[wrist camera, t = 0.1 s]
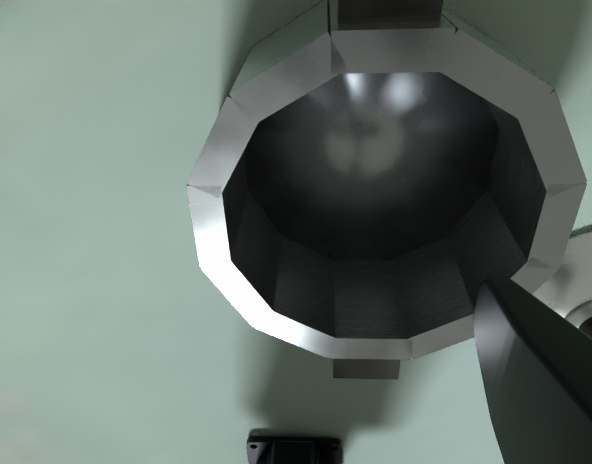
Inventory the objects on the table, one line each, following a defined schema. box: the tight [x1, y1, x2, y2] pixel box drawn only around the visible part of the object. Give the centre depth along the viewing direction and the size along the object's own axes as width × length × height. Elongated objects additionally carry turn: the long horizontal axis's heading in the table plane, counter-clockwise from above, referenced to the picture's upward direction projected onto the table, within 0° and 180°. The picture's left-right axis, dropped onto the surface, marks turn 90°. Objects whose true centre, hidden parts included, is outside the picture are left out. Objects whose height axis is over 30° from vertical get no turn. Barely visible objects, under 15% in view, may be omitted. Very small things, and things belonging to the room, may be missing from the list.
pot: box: [186, 0, 587, 379], centre depth 20 cm, size 18×13×6 cm
